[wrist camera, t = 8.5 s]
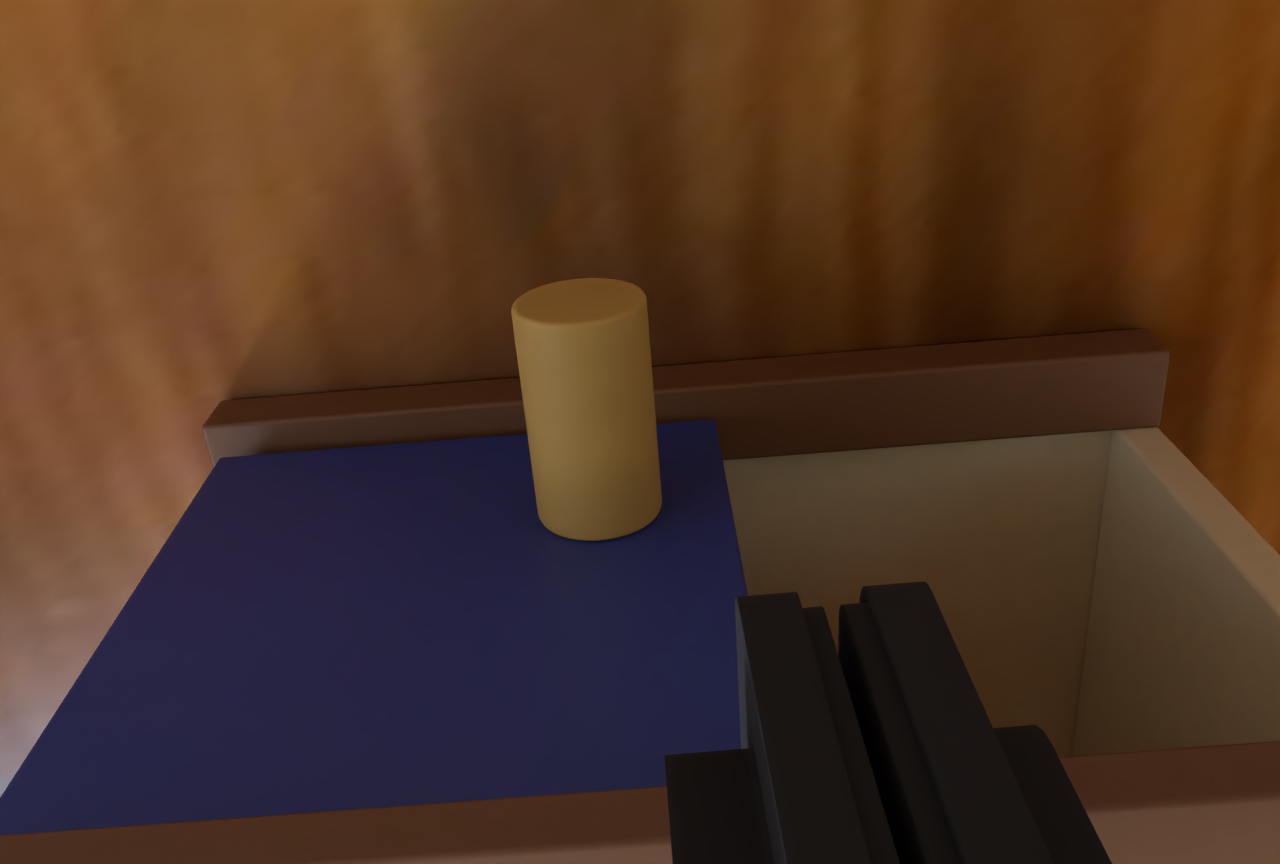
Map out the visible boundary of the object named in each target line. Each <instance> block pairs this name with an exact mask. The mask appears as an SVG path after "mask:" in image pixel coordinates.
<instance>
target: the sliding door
mask: <svg viewBox="0 0 1280 864" xmlns="http://www.w3.org/2000/svg"><path fill="white" fill-rule="evenodd" d="M511 315H512V322H513V330H514V337H515V345H516V352H517V360H518V367H519V375H520V382H521V390H522V397H523V405H524V412H525V420H526V427H527V434H517V435H504V436H492V437H479V438H466V439H453V440H440V441H427V442H414V443H402V444H389V445H376V446H363V447H350V448H337V449H324V450H311V451H299V452H286V453H273V454H260V455H247V456H234V457H222V458H220V459H219V460H218V462H217V463H216V465H215V467H214V468H213V470H212V471H211V473H210V474H209V476H208V477H207V479H206V480H205V482H204V484H203V485H202V487H201V488H200V490H199V491H198V493H197V494H196V496H195V497H194V499H193V501H192V502H191V504H190V505H189V507H188V508H187V510H186V511H185V513H184V514H183V516H182V518H181V519H180V521H179V522H178V524H177V525H176V527H175V528H174V530H173V531H172V533H171V535H170V536H169V538H168V539H167V541H166V542H165V544H164V545H163V547H162V549H161V550H160V552H159V553H158V555H157V556H156V558H155V559H154V561H153V562H152V564H151V566H150V567H149V569H148V570H147V572H146V573H145V575H144V576H143V578H142V579H141V581H140V583H139V584H138V586H137V587H136V589H135V590H134V592H133V593H132V595H131V596H130V598H129V600H128V601H127V603H126V604H125V606H124V607H123V609H122V610H121V612H120V613H119V615H118V617H117V618H116V620H115V621H114V623H113V624H112V626H111V627H110V629H109V630H108V632H107V634H106V635H105V637H104V638H103V640H102V641H101V643H100V644H99V646H98V648H97V649H96V651H95V652H94V654H93V655H92V657H91V658H90V660H89V661H88V663H87V665H86V666H85V668H84V669H83V671H82V672H81V674H80V675H79V677H78V678H77V680H76V682H75V683H74V685H73V686H72V688H71V689H70V691H69V692H68V694H67V695H66V697H65V699H64V700H63V702H62V703H61V705H60V706H59V708H58V709H57V711H56V712H55V714H54V716H53V717H52V719H51V720H50V722H49V723H48V725H47V726H46V728H45V730H44V731H43V733H42V734H41V736H40V737H39V739H38V740H37V742H36V743H35V745H34V747H33V748H32V750H31V751H30V753H29V754H28V756H27V757H26V759H25V760H24V762H23V764H22V765H21V767H20V768H19V770H18V771H17V773H16V774H15V776H14V777H13V779H12V781H11V782H10V784H9V785H8V787H7V788H6V790H5V791H4V793H3V794H2V796H1V798H0V835H10V834H24V833H37V832H51V831H64V830H78V829H91V828H105V827H119V826H132V825H146V824H159V823H173V822H186V821H200V820H213V819H227V818H241V817H254V816H268V815H281V814H295V813H308V812H322V811H335V810H349V809H363V808H376V807H390V806H403V805H417V804H430V803H444V802H457V801H471V800H485V799H498V798H512V797H525V796H539V795H552V794H566V793H579V792H593V791H607V790H620V789H634V788H647V787H661V786H667V783H666V770H665V756H664V755H673V754H685V753H697V752H709V751H721V750H734V749H741V734H740V711H739V689H738V666H737V644H736V621H735V599H736V597H740V596H748V592H747V587H746V581H745V576H744V571H743V565H742V560H741V555H740V549H739V544H738V539H737V533H736V528H735V523H734V517H733V512H732V507H731V501H730V496H729V491H728V485H727V480H726V474H725V469H724V464H723V458H722V453H721V448H720V442H719V437H718V432H717V426H716V422H715V420H713V419H710V420H697V421H685V422H672V423H659V424H656V415H655V402H654V389H653V376H652V363H651V349H650V336H649V323H648V310H647V299H646V296H645V294H644V292H643V291H642V289H641V288H639V287H638V286H636V285H634V284H632V283H629V282H625V281H621V280H615V279H606V278H579V279H570V280H564V281H558V282H554V283H550V284H546V285H543V286H540V287H537V288H535V289H532V290H530V291H528V292H526V293H524V294H523V295H521V296H520V297H518V298H517V299H516V300H515V302H514V303H513V306H512V309H511Z"/></svg>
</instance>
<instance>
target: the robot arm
mask: <svg viewBox="0 0 1280 864" xmlns="http://www.w3.org/2000/svg"><path fill="white" fill-rule="evenodd" d="M735 621H736V644H737V666H738V689H739V711H740V734H741V749H734V750H721V751H709V752H697V753H685V754H673V755H664V756H665V770H666V783H667V796H668V809H669V822H670V835H671V848H672V861H673V864H1112V862H1111V860H1110V858H1109V856H1108V854H1107V852H1106V850H1105V848H1104V846H1103V844H1102V842H1101V840H1100V839H1099V837H1098V835H1097V833H1096V831H1095V829H1094V827H1093V825H1092V823H1091V821H1090V819H1089V817H1088V815H1087V813H1086V811H1085V809H1084V807H1083V805H1082V803H1081V801H1080V799H1079V797H1078V795H1077V793H1076V791H1075V789H1074V787H1073V785H1072V783H1071V781H1070V779H1069V777H1068V775H1067V773H1066V771H1065V769H1064V767H1063V765H1062V763H1061V761H1060V759H1059V757H1058V755H1057V753H1056V751H1055V749H1054V747H1053V745H1052V743H1051V742H1050V740H1049V739H1048V737H1047V736H1046V734H1045V732H1044V731H1043V730H1042V729H1040V728H1039V727H1038V726H1036V725H1026V726H1014V727H1002V728H993V727H992V725H991V722H990V720H989V718H988V716H987V713H986V711H985V709H984V707H983V704H982V702H981V700H980V698H979V696H978V693H977V691H976V689H975V687H974V684H973V682H972V680H971V678H970V675H969V673H968V671H967V669H966V666H965V664H964V662H963V660H962V657H961V655H960V653H959V651H958V648H957V646H956V644H955V642H954V639H953V637H952V635H951V633H950V631H949V628H948V626H947V624H946V622H945V619H944V617H943V615H942V613H941V610H940V608H939V606H938V604H937V601H936V599H935V597H934V595H933V592H932V590H931V588H930V587H929V585H928V583H926V582H924V581H922V582H909V583H897V584H885V585H873V586H864V587H863V588H862V589H861V593H860V600H859V603H855V604H843V605H841V606H840V609H839V632H838V653H837V650H836V646H835V643H834V640H833V636H832V633H831V630H830V626H829V623H828V620H827V616H826V613H825V610H824V608H823V607H822V606H819V607H807V608H802V605H801V601H800V598H799V595H798V593H797V592H788V593H776V594H764V595H752V596H740V597H736V599H735Z"/></svg>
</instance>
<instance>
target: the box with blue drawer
mask: <svg viewBox="0 0 1280 864" xmlns="http://www.w3.org/2000/svg"><path fill="white" fill-rule="evenodd" d="M1169 359H1170V351H1169V350H1168V349H1167V348H1166V347H1165V346H1164V345H1163V344H1162V343H1160V342H1159V341H1158V340H1157V339H1156V338H1155V337H1154V336H1153V335H1151V334H1150V333H1149V332H1148V331H1147V330H1146V329H1131V330H1119V331H1106V332H1093V333H1080V334H1068V335H1055V336H1042V337H1029V338H1017V339H1004V340H991V341H978V342H965V343H953V344H940V345H927V346H914V347H902V348H889V349H876V350H863V351H851V352H838V353H825V354H812V355H800V356H787V357H774V358H761V359H748V360H736V361H723V362H710V363H697V364H685V365H672V366H659V367H652V376H653V389H654V402H655V415H656V424H659V423H672V422H685V421H697V420H710V419H713V420H715V422H716V426H717V432H718V437H719V442H720V448H721V453H722V458H723V464H724V469H725V474H726V480H727V485H728V491H729V496H730V501H731V507H732V512H733V517H734V523H735V528H736V533H737V539H738V544H739V549H740V555H741V560H742V565H743V571H744V576H745V581H746V587H747V592H748V596H752V595H764V594H776V593H788V592H797V593H798V595H799V598H800V601H801V605H802V608H807V607H819V606H822V607H823V608H824V610H825V613H826V616H827V620H828V623H829V626H830V630H831V633H832V636H833V640H834V643H835V646H836V650H837V653H838V632H839V609H840V606H841V605H843V604H855V603H859V600H860V593H861V589H862V588H863V587H864V586H873V585H885V584H897V583H909V582H922V581H924V582H926V583H928V585H929V587H930V588H931V590H932V592H933V595H934V597H935V599H936V601H937V604H938V606H939V608H940V610H941V613H942V615H943V617H944V619H945V622H946V624H947V626H948V628H949V631H950V633H951V635H952V637H953V639H954V642H955V644H956V646H957V648H958V651H959V653H960V655H961V657H962V660H963V662H964V664H965V666H966V669H967V671H968V673H969V675H970V678H971V680H972V682H973V684H974V687H975V689H976V691H977V693H978V696H979V698H980V700H981V702H982V704H983V707H984V709H985V711H986V713H987V716H988V718H989V720H990V722H991V725H992V727H993V728H1002V727H1014V726H1026V725H1036V726H1038V727H1039V728H1040V729H1042V730H1043V731H1044V732H1045V734H1046V736H1047V737H1048V739H1049V740H1050V742H1051V743H1052V745H1053V747H1054V749H1055V751H1056V753H1057V755H1058V757H1059V759H1060V761H1061V763H1062V765H1063V767H1064V769H1065V771H1066V773H1067V775H1068V777H1069V779H1070V781H1071V783H1072V785H1073V787H1074V789H1075V791H1076V793H1077V795H1078V797H1079V799H1080V801H1081V803H1082V805H1083V807H1084V809H1085V811H1086V813H1087V815H1088V817H1089V819H1090V821H1091V823H1092V825H1093V827H1094V829H1095V831H1096V833H1097V835H1098V837H1099V839H1100V840H1101V842H1102V844H1103V846H1104V848H1105V850H1106V852H1107V854H1108V856H1109V858H1110V860H1111V862H1112V864H1280V555H1279V554H1278V553H1277V552H1276V550H1275V549H1274V548H1273V547H1272V546H1271V545H1270V544H1269V543H1268V542H1267V541H1266V540H1265V539H1264V538H1263V537H1262V536H1261V535H1260V534H1259V533H1258V532H1257V531H1256V530H1255V529H1254V528H1253V526H1252V525H1251V524H1250V523H1249V522H1248V521H1247V520H1246V519H1245V518H1244V517H1243V516H1242V515H1241V514H1240V513H1239V512H1238V511H1237V510H1236V509H1235V508H1234V507H1233V506H1232V505H1231V503H1230V502H1229V501H1228V500H1227V499H1226V498H1225V497H1224V496H1223V495H1222V494H1221V493H1220V492H1219V491H1218V490H1217V489H1216V488H1215V487H1214V486H1213V485H1212V484H1211V483H1210V482H1209V481H1208V479H1207V478H1206V477H1205V476H1204V475H1203V474H1202V473H1201V472H1200V471H1199V470H1198V469H1197V468H1196V467H1195V466H1194V465H1193V464H1192V463H1191V462H1190V461H1189V460H1188V459H1187V458H1186V457H1185V455H1184V454H1183V453H1182V452H1181V451H1180V450H1179V449H1178V448H1177V447H1176V446H1175V445H1174V444H1173V443H1172V442H1171V441H1170V440H1169V439H1168V438H1167V437H1166V436H1165V435H1164V434H1163V432H1162V431H1161V430H1160V429H1159V428H1158V426H1159V425H1160V422H1161V415H1162V408H1163V401H1164V394H1165V387H1166V380H1167V373H1168V366H1169ZM203 432H204V435H205V439H206V443H207V446H208V450H209V454H210V457H211V461H212V464H213V468H214V467H215V465H216V463H217V462H218V460H219V459H220V458H222V457H234V456H247V455H260V454H273V453H286V452H299V451H311V450H324V449H337V448H350V447H363V446H376V445H389V444H402V443H414V442H427V441H440V440H453V439H466V438H479V437H492V436H504V435H517V434H527V427H526V420H525V412H524V405H523V397H522V390H521V382H520V377H519V378H506V379H493V380H480V381H468V382H455V383H442V384H429V385H417V386H404V387H391V388H378V389H366V390H353V391H340V392H327V393H315V394H302V395H289V396H276V397H263V398H251V399H238V400H225V401H221V402H220V403H219V404H218V406H217V407H216V408H215V410H214V411H213V413H212V414H211V415H210V417H209V418H208V420H207V421H206V422H205V424H204V425H203ZM0 864H673V861H672V848H671V835H670V822H669V809H668V796H667V786H661V787H647V788H634V789H620V790H607V791H593V792H579V793H566V794H552V795H539V796H525V797H512V798H498V799H485V800H471V801H457V802H444V803H430V804H417V805H403V806H390V807H376V808H363V809H349V810H335V811H322V812H308V813H295V814H281V815H268V816H254V817H241V818H227V819H213V820H200V821H186V822H173V823H159V824H146V825H132V826H119V827H105V828H91V829H78V830H64V831H51V832H37V833H24V834H10V835H0Z"/></svg>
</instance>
